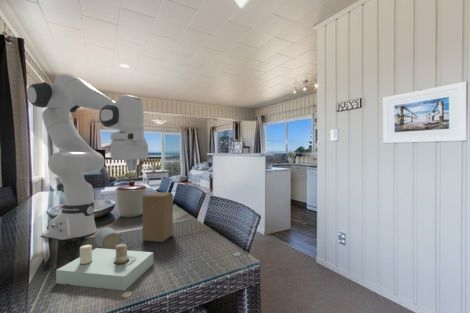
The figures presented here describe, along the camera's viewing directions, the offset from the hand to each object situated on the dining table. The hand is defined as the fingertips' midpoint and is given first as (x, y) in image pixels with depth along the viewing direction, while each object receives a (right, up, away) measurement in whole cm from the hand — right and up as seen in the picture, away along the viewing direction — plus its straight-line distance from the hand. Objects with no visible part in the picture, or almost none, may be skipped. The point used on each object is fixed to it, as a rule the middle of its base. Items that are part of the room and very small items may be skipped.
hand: (131, 170), depth 94 cm
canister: (-22, -30, +50) cm, 62 cm away
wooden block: (+7, -31, +12) cm, 34 cm away
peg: (+5, -32, -19) cm, 37 cm away
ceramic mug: (-9, -31, +2) cm, 33 cm away
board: (+1, -32, -19) cm, 37 cm away
